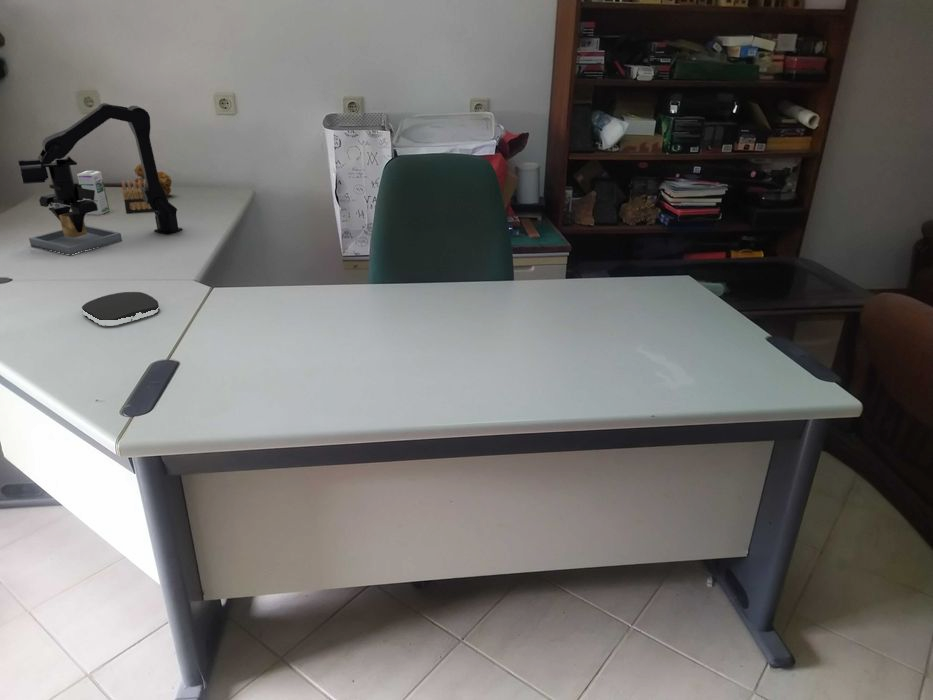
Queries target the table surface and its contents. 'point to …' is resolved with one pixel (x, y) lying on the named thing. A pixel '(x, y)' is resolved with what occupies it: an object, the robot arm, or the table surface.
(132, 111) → the robot arm
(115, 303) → the media streaming box
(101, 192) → the syrup box
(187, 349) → the table surface
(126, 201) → the ammunition clip
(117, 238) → the tray
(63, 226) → the block
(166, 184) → the stuffed squirrel
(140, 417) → the table surface
